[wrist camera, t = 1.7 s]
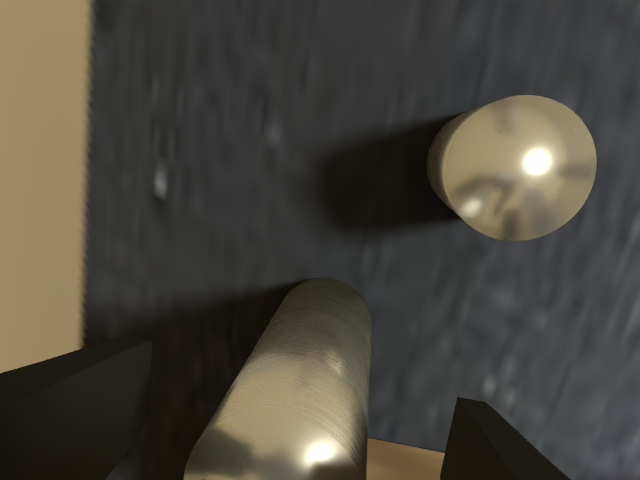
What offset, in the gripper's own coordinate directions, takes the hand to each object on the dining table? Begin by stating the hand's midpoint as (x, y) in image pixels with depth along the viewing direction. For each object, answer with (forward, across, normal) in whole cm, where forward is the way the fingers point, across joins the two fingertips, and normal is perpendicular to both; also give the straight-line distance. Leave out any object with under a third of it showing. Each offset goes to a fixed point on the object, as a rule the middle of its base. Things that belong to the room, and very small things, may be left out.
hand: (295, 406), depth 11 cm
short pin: (+5, -4, -6) cm, 9 cm away
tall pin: (+5, 0, 0) cm, 5 cm away
